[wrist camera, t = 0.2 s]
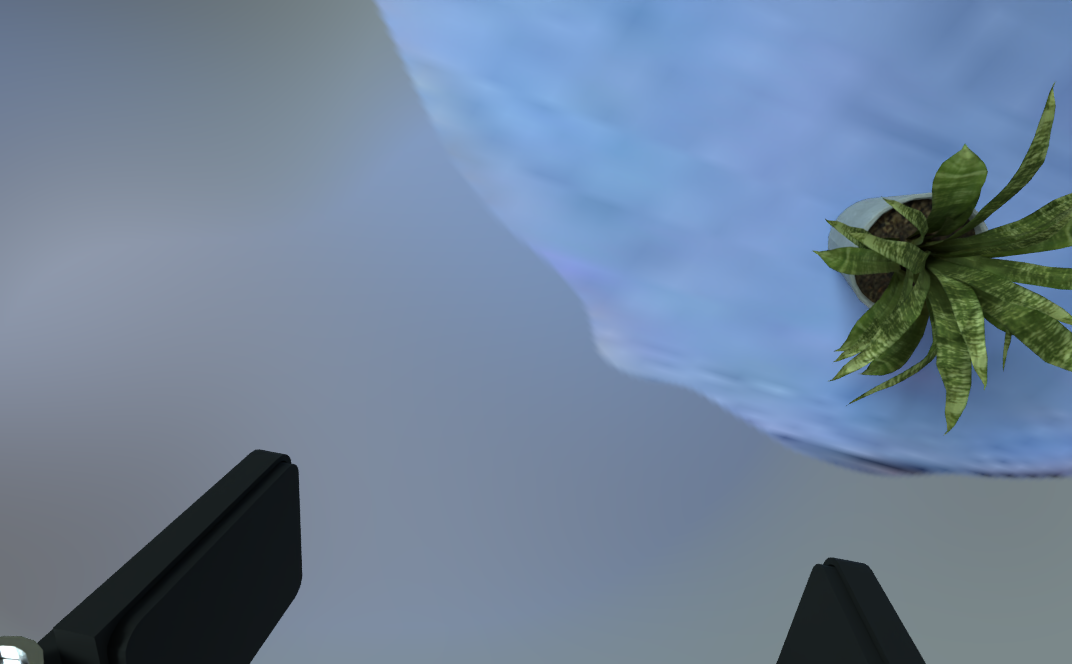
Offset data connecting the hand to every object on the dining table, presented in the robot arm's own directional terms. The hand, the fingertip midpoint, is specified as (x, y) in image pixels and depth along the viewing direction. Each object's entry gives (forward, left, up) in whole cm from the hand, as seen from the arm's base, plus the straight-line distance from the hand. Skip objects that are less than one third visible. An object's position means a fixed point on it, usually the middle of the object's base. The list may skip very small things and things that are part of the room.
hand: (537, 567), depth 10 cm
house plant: (-4, +17, -31) cm, 36 cm away
